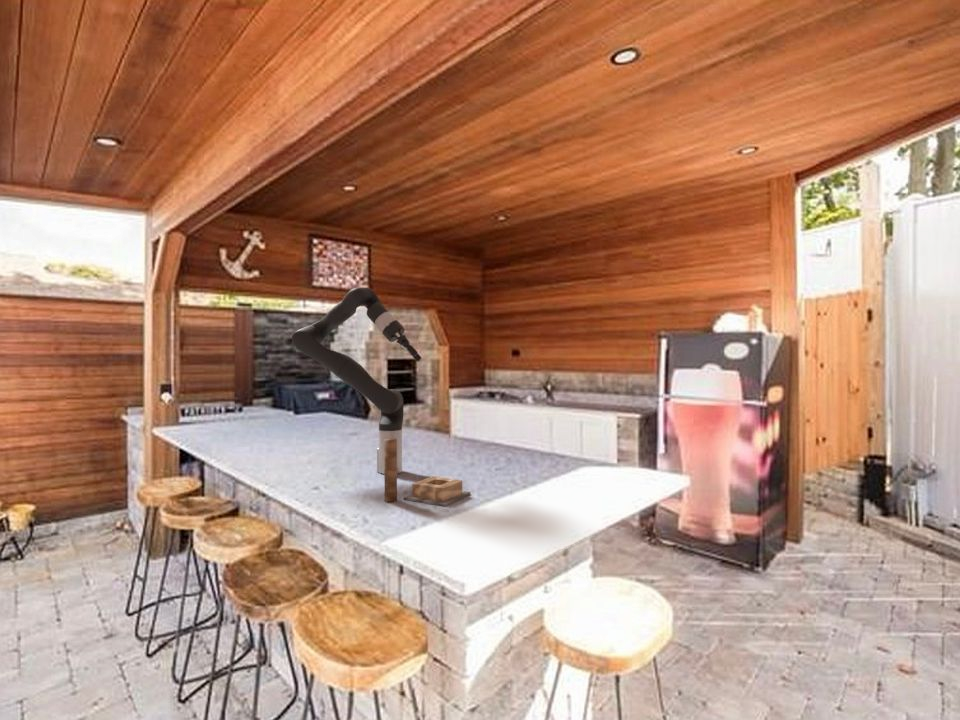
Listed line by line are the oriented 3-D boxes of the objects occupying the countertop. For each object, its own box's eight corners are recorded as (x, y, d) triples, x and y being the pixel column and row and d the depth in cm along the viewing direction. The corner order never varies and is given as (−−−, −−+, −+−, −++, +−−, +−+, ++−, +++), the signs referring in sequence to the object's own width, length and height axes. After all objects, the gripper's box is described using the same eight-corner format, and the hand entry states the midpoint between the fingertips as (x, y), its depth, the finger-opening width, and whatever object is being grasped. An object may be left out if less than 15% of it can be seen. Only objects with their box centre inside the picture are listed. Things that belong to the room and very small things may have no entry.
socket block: (403, 499, 177) (403, 484, 177) (431, 488, 191) (431, 474, 191) (445, 506, 169) (445, 490, 169) (470, 494, 183) (470, 479, 183)
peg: (382, 501, 175) (381, 440, 175) (389, 498, 179) (389, 438, 178) (391, 503, 173) (391, 441, 173) (399, 500, 177) (399, 439, 176)
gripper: (386, 338, 209) (413, 368, 206) (377, 328, 195) (406, 360, 192) (400, 325, 210) (428, 355, 207) (393, 314, 196) (422, 345, 193)
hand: (417, 357), depth 200 cm, fingers open, 8 cm apart
